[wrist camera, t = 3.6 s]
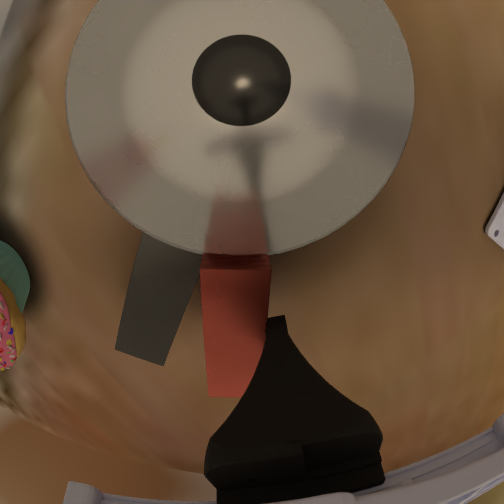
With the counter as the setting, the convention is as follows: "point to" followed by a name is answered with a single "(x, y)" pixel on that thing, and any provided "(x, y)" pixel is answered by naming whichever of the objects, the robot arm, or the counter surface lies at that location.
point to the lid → (239, 136)
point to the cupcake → (12, 305)
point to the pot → (164, 285)
